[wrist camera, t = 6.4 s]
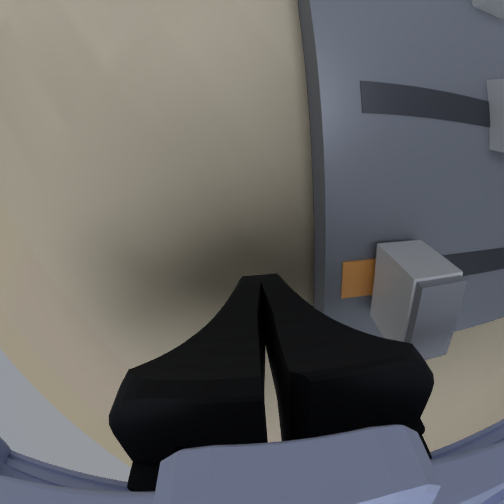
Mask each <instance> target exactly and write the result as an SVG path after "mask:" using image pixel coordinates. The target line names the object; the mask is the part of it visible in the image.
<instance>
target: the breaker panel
mask: <svg viewBox="0 0 504 504" xmlns="http://www.w3.org/2000/svg"><path fill="white" fill-rule="evenodd" d="M298 7H299V15H300V23H301V31H302V39H303V48H304V58H305V68H306V79H307V90H308V102H309V116H310V131H311V149H312V169H313V197H314V308H315V309H317V310H318V311H320V312H322V313H323V314H325V315H327V316H329V317H330V318H332V319H334V320H336V321H338V322H340V323H342V324H344V325H347V326H349V327H351V328H354V329H356V330H359V331H362V332H365V333H368V334H371V335H375V336H378V337H382V338H384V337H383V336H382V334H381V332H380V331H379V329H378V327H377V326H376V324H375V322H374V321H373V319H372V318H371V316H370V310H371V302H372V294H373V285H374V275H375V264H376V252H377V243H388V242H400V241H411V240H422V241H423V242H425V243H426V244H427V245H429V246H430V247H431V248H433V249H434V250H435V251H437V252H438V253H439V254H441V255H442V256H443V257H445V258H446V259H447V260H449V261H450V262H451V263H452V264H454V265H455V266H456V267H458V268H459V269H460V270H461V271H463V274H462V277H463V278H465V279H466V280H467V282H466V287H465V291H464V295H463V299H462V303H461V307H460V310H459V314H458V318H457V321H456V324H455V328H454V331H453V332H455V331H459V330H462V329H466V328H469V327H473V326H476V325H480V324H483V323H486V322H490V321H493V320H496V319H499V318H502V317H504V0H298Z"/></svg>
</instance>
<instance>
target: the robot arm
mask: <svg viewBox="0 0 504 504" xmlns="http://www.w3.org/2000/svg"><path fill="white" fill-rule="evenodd" d="M265 345H266V350H267V354H268V359H269V363H270V368H271V372H272V376H273V381H274V385H275V390H276V395H277V401H278V410H279V419H280V428H281V438H282V441H281V442H270V443H268V441H267V429H266V416H265V404H264V380H265ZM433 385H434V378H433V373H432V371H431V370H430V368H429V367H428V365H427V363H426V362H425V360H424V359H423V357H422V355H421V354H420V353H419V352H418V350H417V349H416V348H415V347H414V345H413V344H412V343H407V342H401V341H396V340H391V339H386V338H382V337H378V336H375V335H371V334H368V333H365V332H362V331H359V330H356V329H354V328H351V327H349V326H347V325H344V324H342V323H340V322H338V321H336V320H334V319H332V318H330V317H329V316H327V315H325V314H323V313H322V312H320V311H318V310H317V309H315V308H314V307H313V306H311V305H310V304H309V303H307V302H306V301H305V300H303V299H302V298H301V297H300V296H299V295H298V294H297V293H296V292H294V291H293V290H292V289H291V288H290V287H289V286H288V285H287V284H286V283H285V281H284V280H283V279H282V278H281V277H280V276H279V275H278V274H266V275H255V276H243V277H242V278H241V279H240V280H239V283H238V284H237V286H236V288H235V290H234V291H233V293H232V295H231V296H230V297H229V299H228V300H227V302H226V303H225V305H224V306H223V307H222V308H221V310H220V311H219V312H218V313H217V314H216V316H215V317H214V318H213V319H212V320H211V321H210V322H209V323H208V324H207V325H206V326H205V327H204V328H203V329H201V330H200V331H199V332H198V333H196V334H195V335H194V336H192V337H191V338H190V339H188V340H187V341H186V342H184V343H183V344H181V345H180V346H178V347H176V348H175V349H173V350H171V351H169V352H168V353H166V354H164V355H162V356H160V357H158V358H156V359H154V360H151V361H149V362H147V363H144V364H142V365H140V366H137V367H135V368H132V369H129V370H128V372H127V374H126V376H125V378H124V379H123V381H122V383H121V386H120V388H119V390H118V393H117V395H116V398H115V401H114V403H113V406H112V409H111V411H110V414H109V425H110V428H111V430H112V432H113V434H114V435H115V437H116V438H117V440H118V441H119V443H120V444H121V446H122V447H123V449H124V450H125V451H126V453H127V454H128V456H129V457H130V458H131V460H132V461H133V463H132V467H131V471H130V476H129V480H128V482H124V481H118V480H113V479H108V478H103V477H98V476H93V475H89V474H85V473H81V472H77V471H73V470H69V469H65V468H62V467H58V466H55V465H52V464H48V463H45V462H42V461H39V460H36V459H33V458H30V457H28V456H25V455H22V454H19V453H17V452H14V451H12V450H11V449H10V448H9V446H8V445H7V444H6V443H5V441H4V440H3V439H1V438H0V504H504V419H503V420H501V421H499V422H497V423H495V424H493V425H491V426H490V427H488V428H486V429H484V430H482V431H479V432H477V433H475V434H473V435H471V436H469V437H467V438H464V439H462V440H460V441H458V442H455V443H453V444H450V445H448V446H446V447H443V448H441V449H438V450H435V451H433V452H430V451H429V449H428V447H427V445H426V443H425V441H424V438H423V436H422V434H423V433H424V432H425V427H424V425H423V423H422V421H421V419H420V417H421V415H422V413H423V410H424V408H425V406H426V404H427V402H428V399H429V397H430V395H431V392H432V389H433Z"/></svg>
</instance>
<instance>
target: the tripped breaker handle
mask: <svg viewBox="0 0 504 504" xmlns="http://www.w3.org/2000/svg"><path fill="white" fill-rule="evenodd" d="M462 274H463V271H461V270H460V269H459V268H458V267H456V266H455V265H454V264H452V263H451V262H450V261H449V260H447V259H446V258H445V257H443V256H442V255H441V254H439V253H438V252H437V251H435V250H434V249H433V248H431V247H430V246H429V245H427V244H426V243H425V242H423V241H422V240H411V241H400V242H388V243H377V252H376V264H375V275H374V285H373V294H372V302H371V310H370V316H371V318H372V319H373V321H374V322H375V324H376V326H377V327H378V329H379V331H380V332H381V334H382V336H383V337H384V338H386V339H391V340H396V341H401V342H407V343H412V344H413V345H414V347H415V348H416V349H417V350H418V352H419V353H420V354H421V355H422V357H423V359H424V360H427V359H431V358H435V357H438V356H442V355H445V354H446V352H447V349H448V347H449V344H450V340H451V337H452V334H453V331H454V328H455V324H456V321H457V318H458V314H459V310H460V307H461V303H462V299H463V295H464V291H465V287H466V282H467V280H466V279H465V278H463V277H462Z"/></svg>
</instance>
